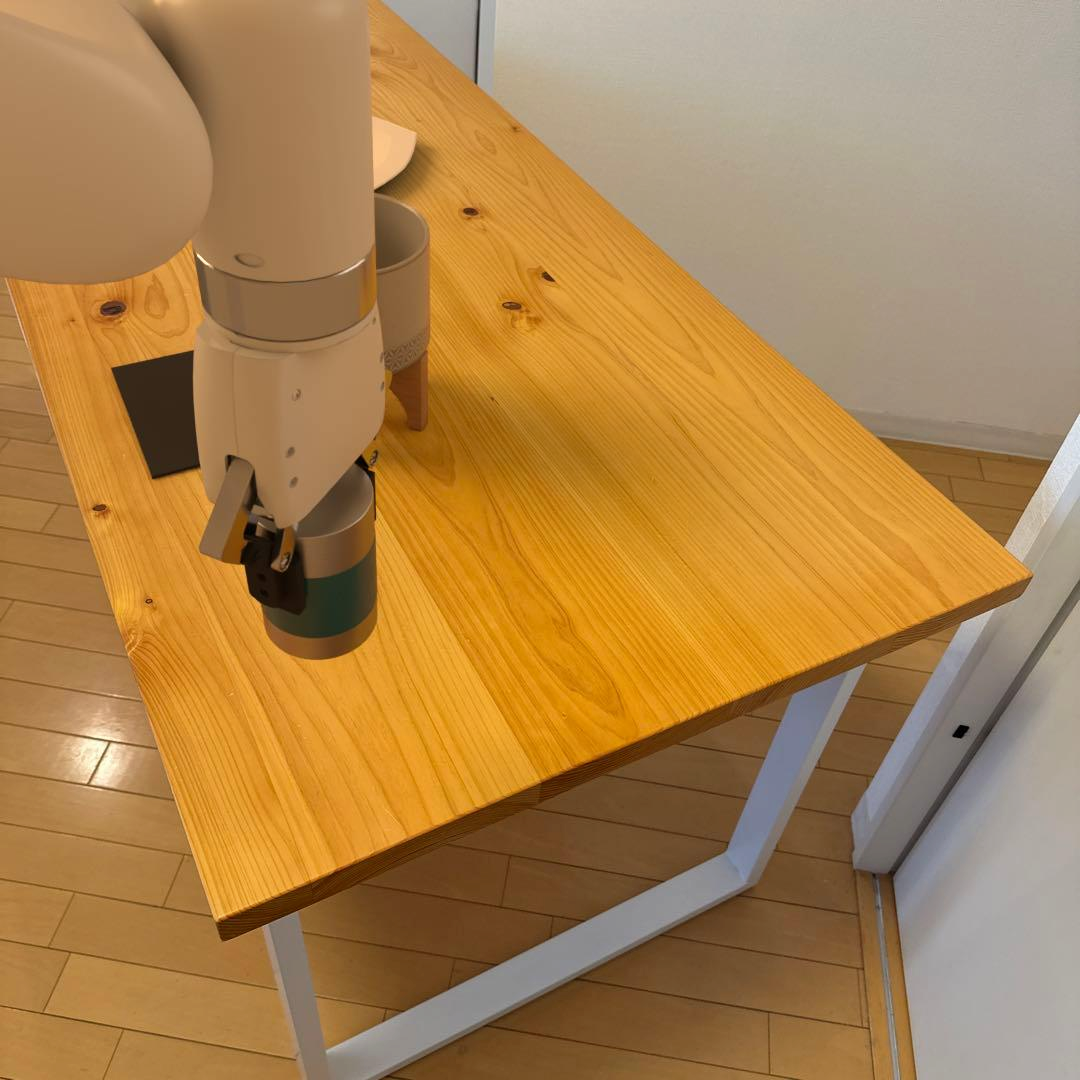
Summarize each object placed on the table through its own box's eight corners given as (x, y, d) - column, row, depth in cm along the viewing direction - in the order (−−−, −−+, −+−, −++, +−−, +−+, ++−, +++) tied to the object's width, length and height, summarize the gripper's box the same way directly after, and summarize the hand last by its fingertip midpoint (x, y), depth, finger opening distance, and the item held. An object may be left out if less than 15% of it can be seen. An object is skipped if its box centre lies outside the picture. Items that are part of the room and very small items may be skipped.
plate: (182, 185, 117) (179, 169, 116) (275, 108, 133) (273, 93, 131) (366, 227, 114) (365, 210, 112) (439, 143, 129) (439, 128, 128)
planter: (326, 352, 97) (309, 177, 84) (451, 386, 95) (454, 210, 82) (259, 432, 88) (229, 250, 75) (395, 471, 86) (389, 290, 73)
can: (240, 635, 58) (217, 510, 51) (303, 560, 63) (289, 436, 56) (341, 677, 57) (331, 555, 50) (398, 598, 61) (396, 475, 54)
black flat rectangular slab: (248, 454, 86) (247, 451, 86) (152, 479, 83) (151, 476, 83) (199, 351, 95) (198, 348, 95) (111, 370, 93) (110, 367, 92)
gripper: (319, 174, 50) (337, 448, 63) (77, 350, 38) (159, 643, 51) (455, 214, 48) (445, 487, 61) (245, 411, 37) (287, 697, 49)
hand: (315, 556), depth 56 cm, fingers closed on can, 6 cm apart
